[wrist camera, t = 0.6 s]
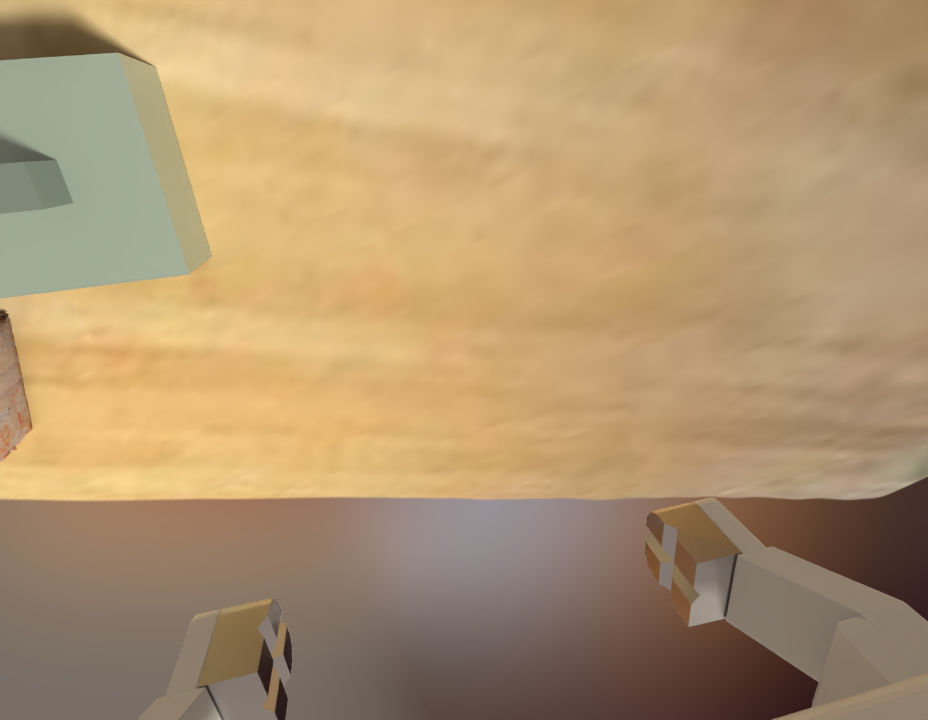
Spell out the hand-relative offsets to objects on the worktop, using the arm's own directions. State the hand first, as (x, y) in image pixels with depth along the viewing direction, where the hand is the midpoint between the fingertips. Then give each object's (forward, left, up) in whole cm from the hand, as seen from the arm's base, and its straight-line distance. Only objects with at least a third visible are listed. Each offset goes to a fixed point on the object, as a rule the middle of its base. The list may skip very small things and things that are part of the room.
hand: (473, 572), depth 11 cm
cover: (-8, -24, -43) cm, 50 cm away
